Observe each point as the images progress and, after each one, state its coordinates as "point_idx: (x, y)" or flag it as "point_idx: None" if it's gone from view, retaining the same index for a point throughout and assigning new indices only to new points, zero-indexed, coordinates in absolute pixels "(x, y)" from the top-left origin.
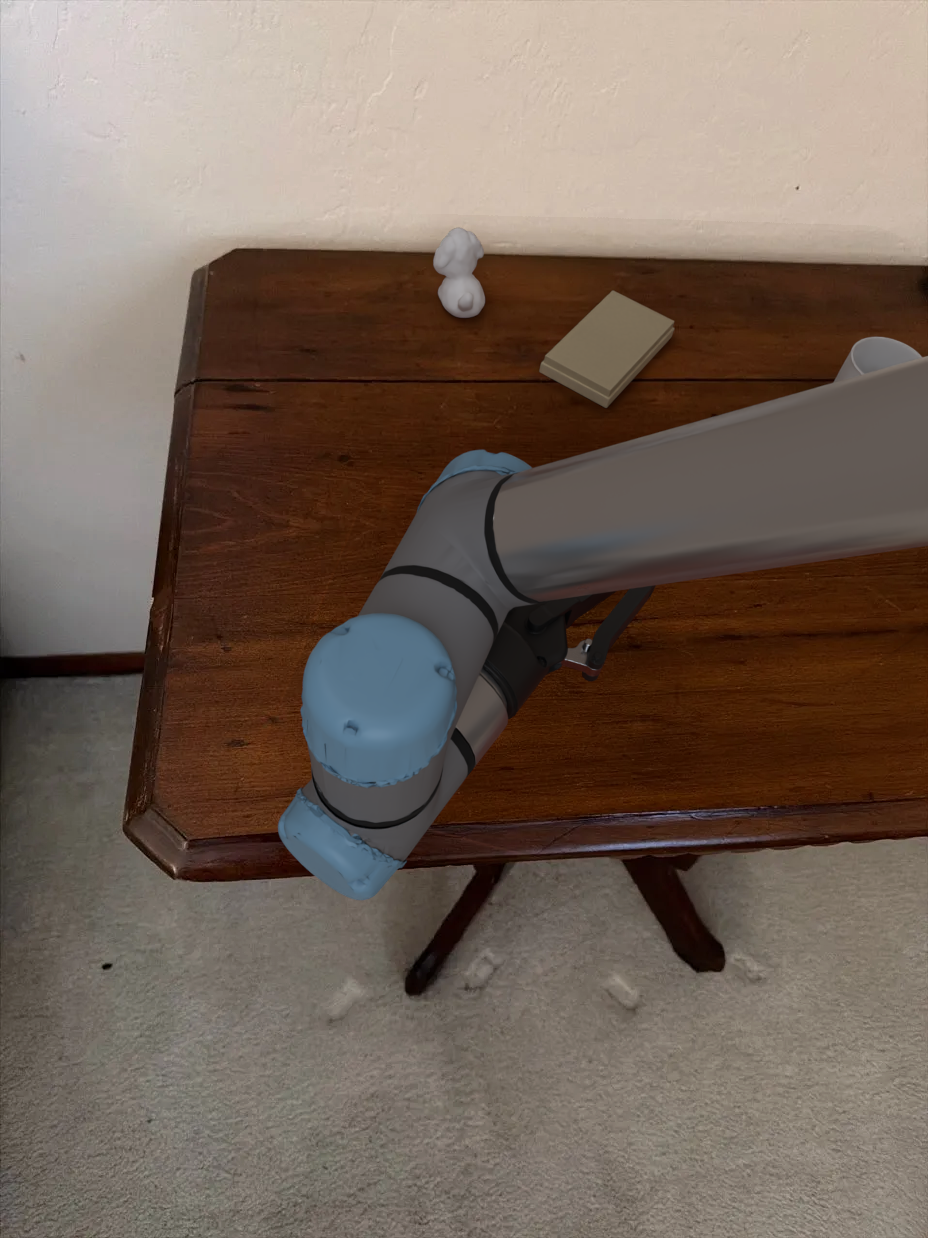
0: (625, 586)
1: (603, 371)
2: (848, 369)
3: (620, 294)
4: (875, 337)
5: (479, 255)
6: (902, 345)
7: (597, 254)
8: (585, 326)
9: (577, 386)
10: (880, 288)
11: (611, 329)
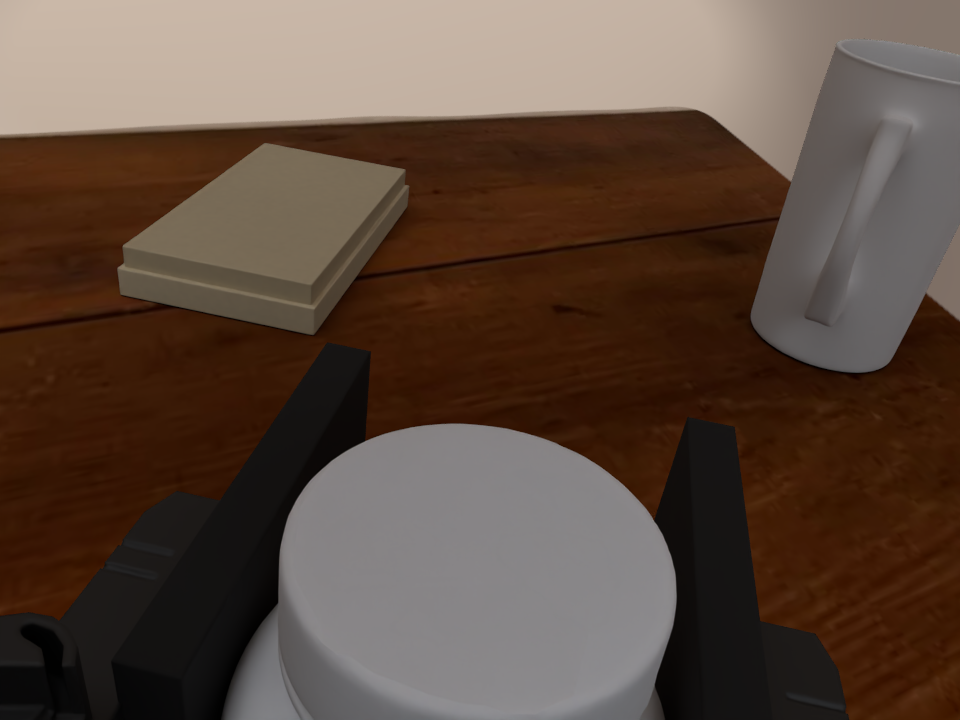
0: None
1: (282, 254)
2: (861, 86)
3: (282, 146)
4: (857, 39)
5: None
6: (910, 48)
7: (225, 126)
8: (218, 192)
9: (226, 301)
10: (680, 130)
11: (280, 191)
